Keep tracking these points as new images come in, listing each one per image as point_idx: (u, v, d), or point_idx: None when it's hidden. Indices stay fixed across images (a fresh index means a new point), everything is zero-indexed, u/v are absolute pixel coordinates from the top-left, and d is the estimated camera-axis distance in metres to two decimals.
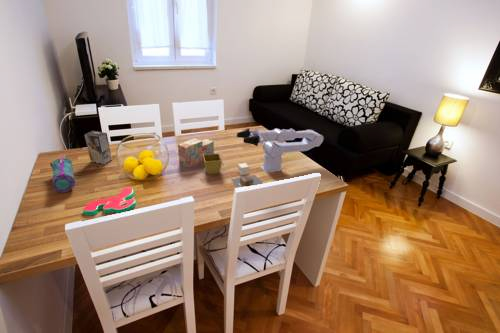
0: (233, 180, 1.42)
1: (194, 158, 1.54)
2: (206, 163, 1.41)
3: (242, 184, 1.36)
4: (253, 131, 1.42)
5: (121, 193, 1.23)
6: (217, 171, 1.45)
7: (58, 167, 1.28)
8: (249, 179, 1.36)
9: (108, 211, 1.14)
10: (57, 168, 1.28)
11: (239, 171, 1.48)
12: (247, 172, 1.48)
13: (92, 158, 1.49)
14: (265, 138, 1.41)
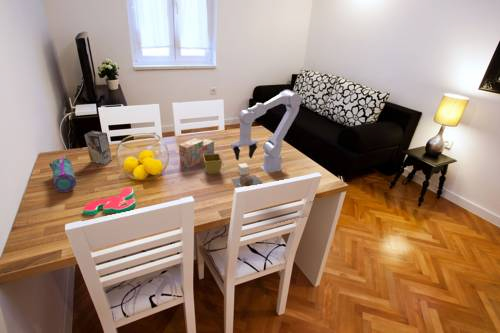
0: (233, 180, 1.42)
1: (195, 158, 1.54)
2: (206, 163, 1.41)
3: (242, 184, 1.36)
4: None
5: (121, 193, 1.23)
6: (217, 171, 1.45)
7: (58, 167, 1.28)
8: (249, 179, 1.36)
9: (108, 211, 1.14)
10: (57, 168, 1.28)
11: (239, 171, 1.48)
12: (247, 172, 1.48)
13: (92, 158, 1.49)
14: (240, 136, 1.38)
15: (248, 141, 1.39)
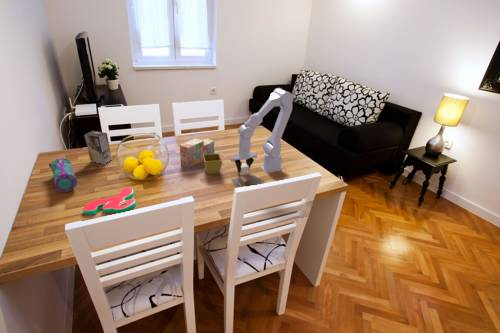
0: (233, 180, 1.42)
1: (195, 158, 1.54)
2: (206, 163, 1.41)
3: (242, 184, 1.36)
4: None
5: (121, 193, 1.23)
6: (217, 171, 1.45)
7: (58, 167, 1.28)
8: (249, 179, 1.36)
9: (108, 211, 1.14)
10: (57, 168, 1.28)
11: None
12: (247, 172, 1.48)
13: (92, 158, 1.49)
14: (239, 150, 1.42)
15: (247, 155, 1.42)
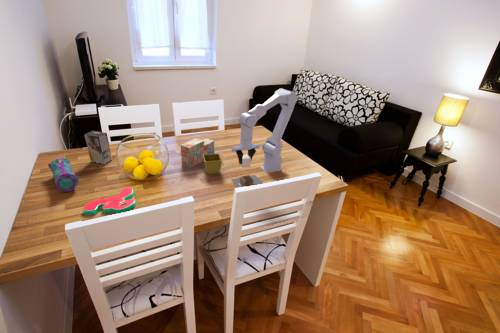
0: (233, 180, 1.42)
1: (196, 158, 1.54)
2: (206, 163, 1.41)
3: (242, 184, 1.36)
4: None
5: (121, 193, 1.23)
6: (217, 171, 1.45)
7: (58, 167, 1.28)
8: (249, 179, 1.36)
9: (108, 211, 1.14)
10: (57, 168, 1.28)
11: None
12: (249, 164, 1.41)
13: (92, 158, 1.49)
14: (241, 139, 1.34)
15: (249, 145, 1.35)
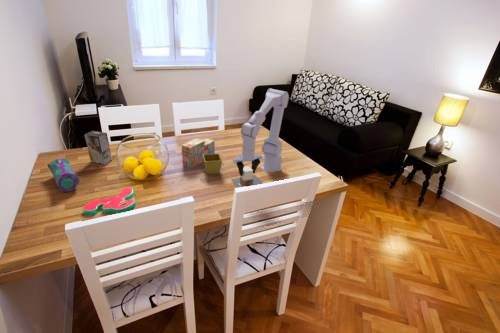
0: (233, 180, 1.42)
1: (197, 158, 1.54)
2: (206, 163, 1.41)
3: (242, 184, 1.36)
4: None
5: (121, 193, 1.23)
6: (217, 171, 1.45)
7: (58, 167, 1.28)
8: None
9: (107, 211, 1.14)
10: (58, 168, 1.28)
11: (242, 175, 1.35)
12: (251, 176, 1.35)
13: (92, 158, 1.49)
14: (243, 150, 1.28)
15: (252, 156, 1.28)
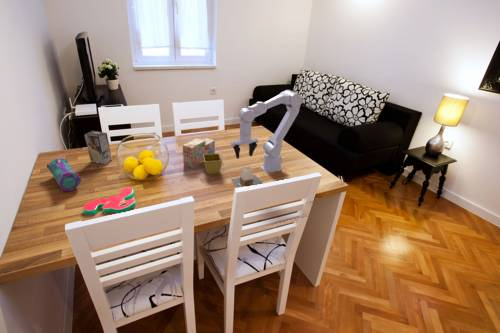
0: (233, 180, 1.42)
1: (198, 158, 1.54)
2: (206, 163, 1.41)
3: (242, 184, 1.36)
4: None
5: (121, 193, 1.23)
6: (217, 171, 1.45)
7: (59, 167, 1.28)
8: None
9: (107, 211, 1.14)
10: (58, 168, 1.28)
11: (242, 175, 1.35)
12: (251, 176, 1.35)
13: (92, 158, 1.49)
14: (240, 134, 1.38)
15: (248, 139, 1.38)
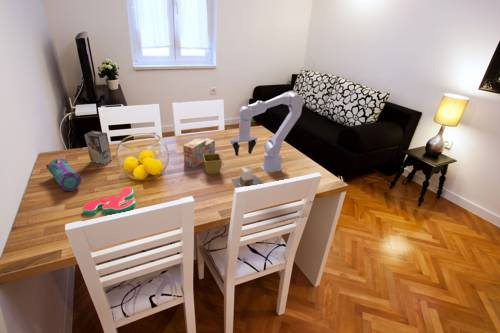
0: (233, 180, 1.42)
1: (199, 158, 1.54)
2: (206, 163, 1.41)
3: (242, 184, 1.36)
4: None
5: (121, 193, 1.23)
6: (217, 171, 1.45)
7: (59, 167, 1.28)
8: None
9: (107, 211, 1.14)
10: (58, 168, 1.28)
11: (242, 175, 1.35)
12: (251, 176, 1.35)
13: (92, 158, 1.49)
14: (239, 132, 1.40)
15: (247, 137, 1.41)
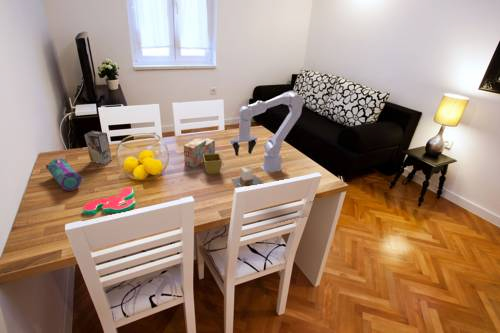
0: (233, 180, 1.42)
1: (199, 158, 1.54)
2: (206, 163, 1.41)
3: (242, 184, 1.36)
4: None
5: (121, 193, 1.23)
6: (217, 171, 1.45)
7: (59, 167, 1.28)
8: None
9: (107, 211, 1.14)
10: (58, 168, 1.28)
11: (242, 175, 1.35)
12: (251, 176, 1.35)
13: (92, 158, 1.49)
14: (239, 132, 1.40)
15: (247, 137, 1.41)
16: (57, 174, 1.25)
